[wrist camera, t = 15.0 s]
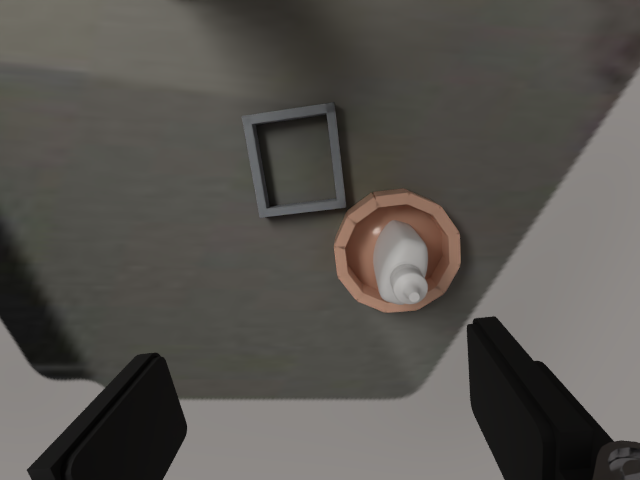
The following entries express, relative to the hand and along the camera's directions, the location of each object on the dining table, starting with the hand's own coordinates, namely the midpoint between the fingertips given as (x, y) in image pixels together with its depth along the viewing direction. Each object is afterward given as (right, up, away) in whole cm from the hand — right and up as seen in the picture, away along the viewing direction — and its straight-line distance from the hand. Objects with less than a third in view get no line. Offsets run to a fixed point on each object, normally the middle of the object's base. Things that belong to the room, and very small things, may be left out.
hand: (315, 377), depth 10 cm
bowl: (+7, +4, +25) cm, 26 cm away
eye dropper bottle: (+7, +4, +24) cm, 25 cm away
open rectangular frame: (-2, +12, +23) cm, 26 cm away
